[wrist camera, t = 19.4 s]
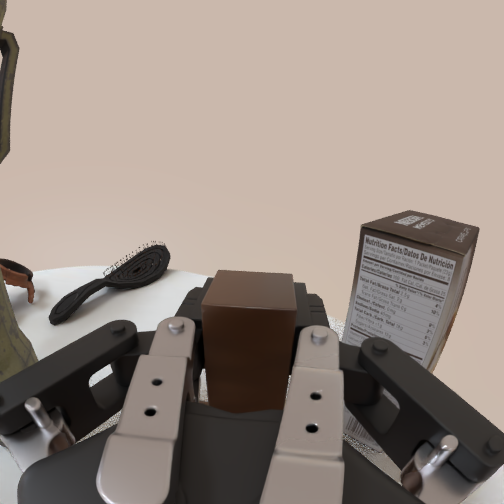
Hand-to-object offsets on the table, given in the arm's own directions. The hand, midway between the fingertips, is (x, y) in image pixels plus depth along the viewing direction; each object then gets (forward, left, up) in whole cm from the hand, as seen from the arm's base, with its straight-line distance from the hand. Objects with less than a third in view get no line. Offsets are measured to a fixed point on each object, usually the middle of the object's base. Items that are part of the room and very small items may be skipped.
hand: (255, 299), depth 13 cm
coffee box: (+11, +5, -13) cm, 18 cm away
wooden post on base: (0, -3, -11) cm, 11 cm away
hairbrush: (-22, +24, -13) cm, 35 cm away
